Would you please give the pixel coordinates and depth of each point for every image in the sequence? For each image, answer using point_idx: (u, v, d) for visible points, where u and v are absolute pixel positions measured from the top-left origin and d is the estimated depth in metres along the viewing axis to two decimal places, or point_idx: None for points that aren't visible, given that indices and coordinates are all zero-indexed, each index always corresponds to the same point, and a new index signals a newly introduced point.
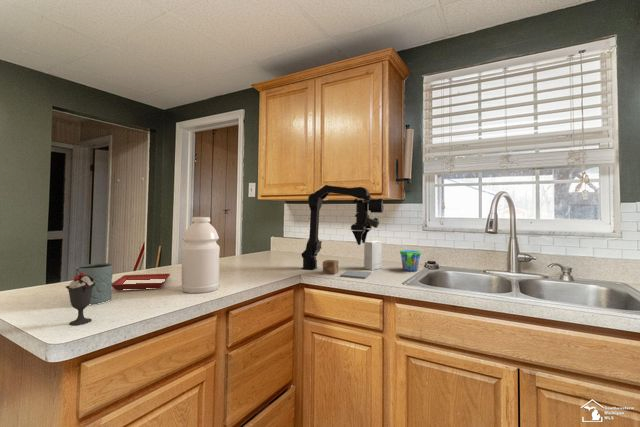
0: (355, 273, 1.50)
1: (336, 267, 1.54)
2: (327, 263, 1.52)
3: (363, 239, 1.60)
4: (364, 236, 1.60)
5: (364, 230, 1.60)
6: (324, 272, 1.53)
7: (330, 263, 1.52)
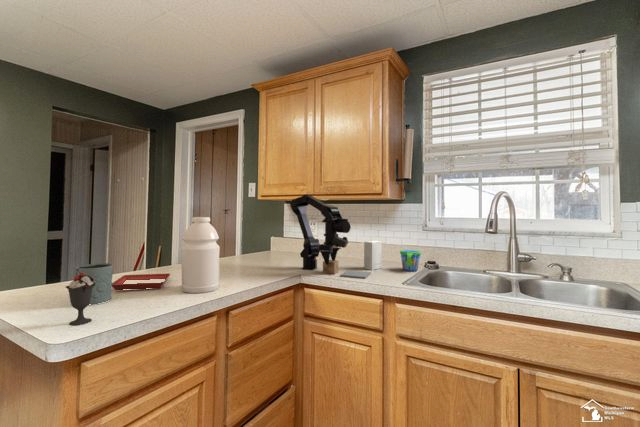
0: (355, 273, 1.50)
1: (336, 267, 1.54)
2: None
3: (333, 258, 1.59)
4: (334, 255, 1.59)
5: (334, 249, 1.60)
6: (324, 272, 1.53)
7: (330, 263, 1.52)
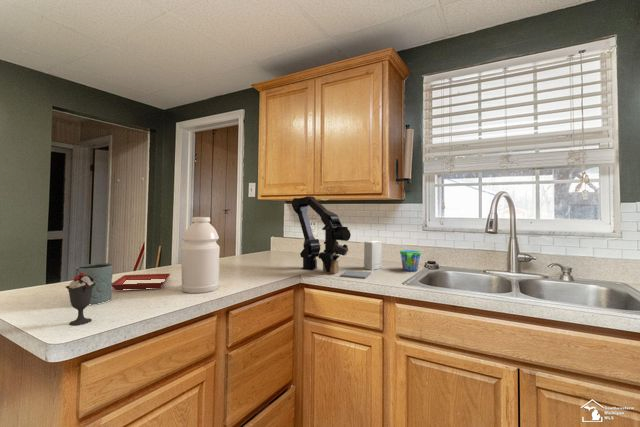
0: (355, 273, 1.50)
1: (336, 267, 1.54)
2: None
3: None
4: None
5: (333, 257, 1.58)
6: (324, 272, 1.53)
7: None
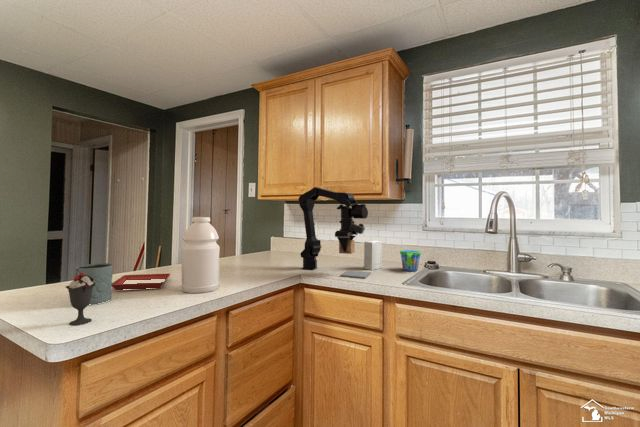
0: (355, 273, 1.50)
1: (353, 246, 1.51)
2: None
3: None
4: None
5: (349, 236, 1.55)
6: (340, 251, 1.50)
7: None
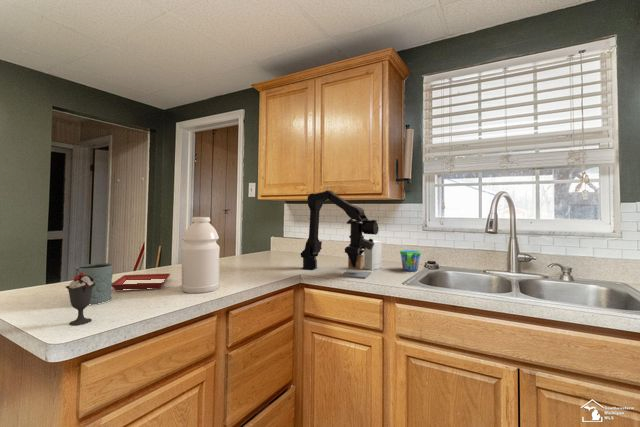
0: (355, 273, 1.50)
1: (362, 262, 1.49)
2: None
3: None
4: None
5: None
6: (350, 267, 1.48)
7: None
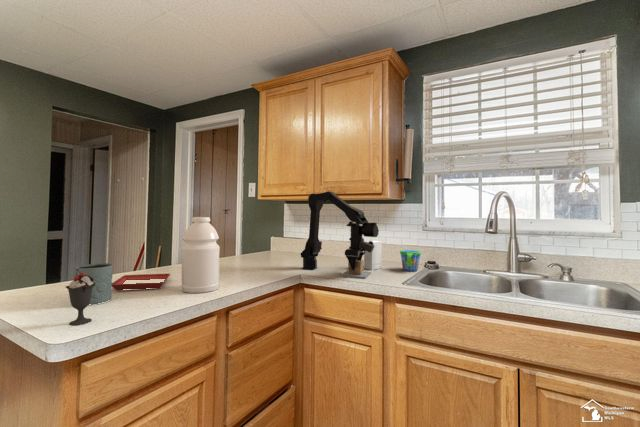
0: None
1: (362, 267, 1.49)
2: None
3: None
4: None
5: (359, 253, 1.55)
6: (350, 272, 1.48)
7: (356, 263, 1.47)
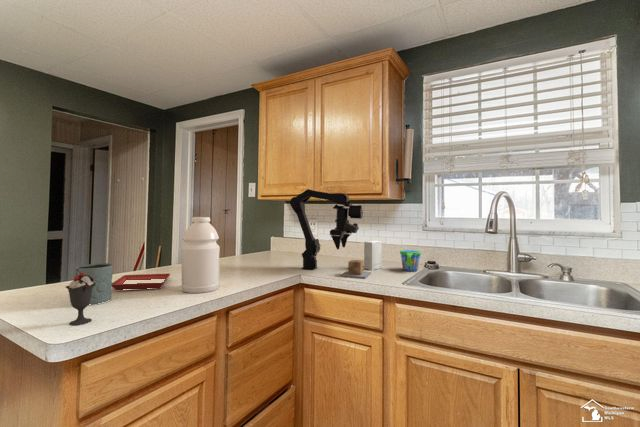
0: None
1: (362, 267, 1.49)
2: (353, 263, 1.48)
3: (343, 243, 1.64)
4: (344, 241, 1.64)
5: (344, 235, 1.65)
6: (350, 272, 1.48)
7: (356, 263, 1.47)
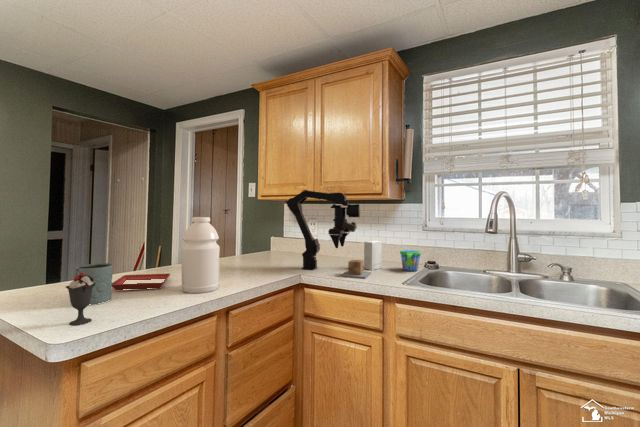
0: None
1: (362, 267, 1.49)
2: (353, 263, 1.48)
3: (342, 242, 1.66)
4: (343, 240, 1.66)
5: (343, 234, 1.66)
6: (350, 272, 1.48)
7: (356, 263, 1.47)
